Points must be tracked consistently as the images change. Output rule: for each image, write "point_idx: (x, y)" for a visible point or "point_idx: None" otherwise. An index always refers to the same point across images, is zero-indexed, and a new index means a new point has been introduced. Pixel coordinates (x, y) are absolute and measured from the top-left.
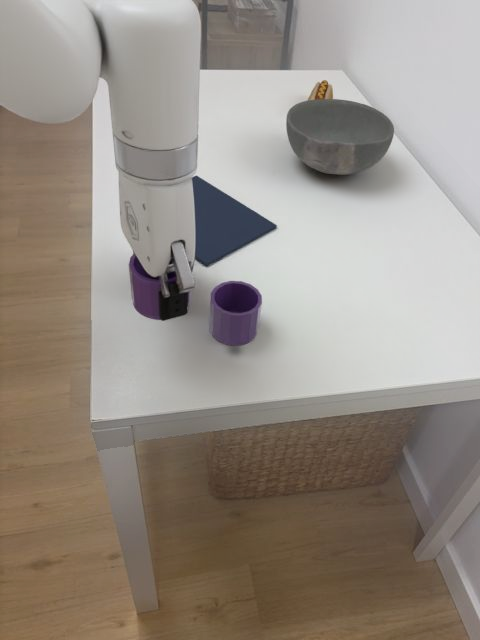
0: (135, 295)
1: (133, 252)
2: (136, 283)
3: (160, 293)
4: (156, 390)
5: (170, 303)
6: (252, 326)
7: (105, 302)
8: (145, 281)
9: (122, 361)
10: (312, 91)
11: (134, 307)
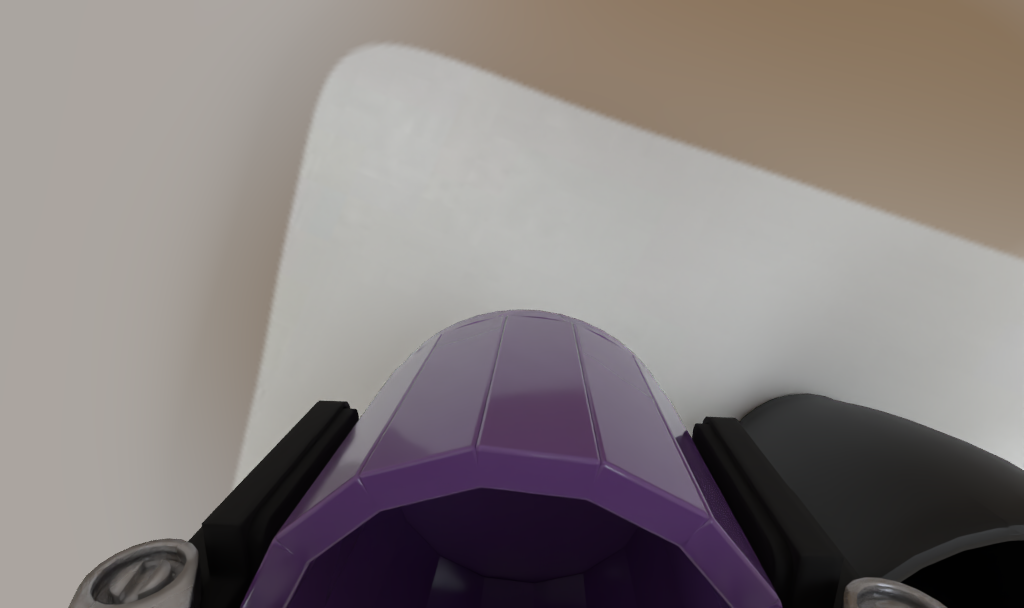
0: (481, 350)
1: (998, 468)
2: (436, 411)
3: (213, 532)
4: (369, 246)
5: (200, 530)
6: None
7: (854, 237)
8: (319, 499)
9: (535, 189)
10: None
11: (519, 310)
